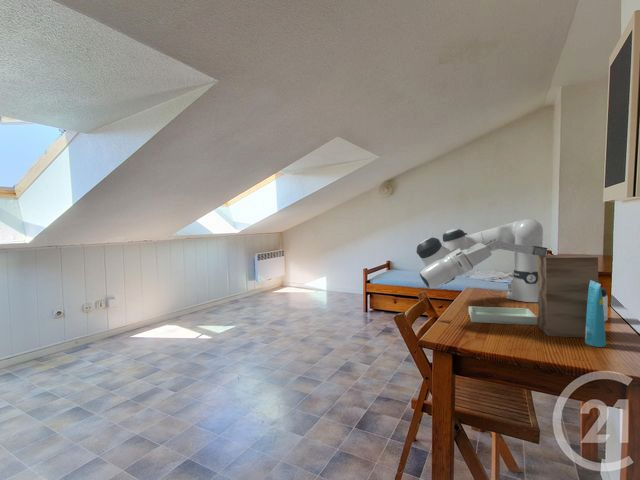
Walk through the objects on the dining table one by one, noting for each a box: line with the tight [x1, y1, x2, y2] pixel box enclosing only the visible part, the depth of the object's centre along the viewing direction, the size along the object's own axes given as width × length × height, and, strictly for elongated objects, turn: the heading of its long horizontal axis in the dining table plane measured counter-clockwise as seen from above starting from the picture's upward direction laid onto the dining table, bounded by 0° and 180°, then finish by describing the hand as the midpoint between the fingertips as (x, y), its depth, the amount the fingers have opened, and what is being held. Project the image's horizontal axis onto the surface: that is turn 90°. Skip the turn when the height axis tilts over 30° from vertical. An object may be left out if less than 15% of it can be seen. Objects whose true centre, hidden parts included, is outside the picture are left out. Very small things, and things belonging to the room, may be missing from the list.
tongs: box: [490, 240, 548, 257], centre depth 115 cm, size 3×17×3 cm, turn 70°
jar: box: [601, 286, 609, 322], centre depth 125 cm, size 9×8×12 cm
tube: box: [584, 280, 607, 348], centre depth 100 cm, size 7×5×19 cm, turn 165°
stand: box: [537, 254, 599, 339], centre depth 112 cm, size 10×14×26 cm
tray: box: [468, 305, 538, 326], centre depth 130 cm, size 13×22×3 cm, turn 70°
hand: (498, 241), depth 117 cm, fingers closed on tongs, 3 cm apart
